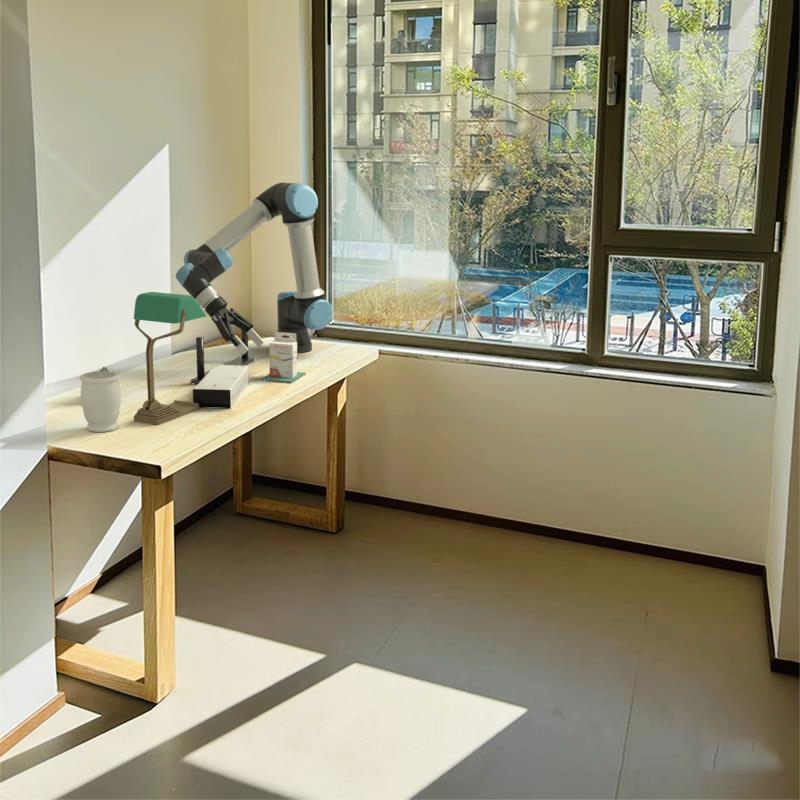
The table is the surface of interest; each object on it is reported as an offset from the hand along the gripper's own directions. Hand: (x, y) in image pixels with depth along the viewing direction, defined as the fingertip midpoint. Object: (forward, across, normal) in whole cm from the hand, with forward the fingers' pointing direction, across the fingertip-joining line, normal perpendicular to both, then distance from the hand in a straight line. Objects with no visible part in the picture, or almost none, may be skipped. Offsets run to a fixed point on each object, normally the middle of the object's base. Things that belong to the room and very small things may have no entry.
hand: (253, 348), depth 318 cm
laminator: (+7, +29, -6) cm, 30 cm away
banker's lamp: (+4, +55, -9) cm, 56 cm away
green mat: (+14, 0, +1) cm, 14 cm away
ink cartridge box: (+14, 0, +1) cm, 14 cm away
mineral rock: (-15, +44, -28) cm, 54 cm away
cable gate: (-1, 0, -15) cm, 15 cm away
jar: (-3, +74, -16) cm, 76 cm away
